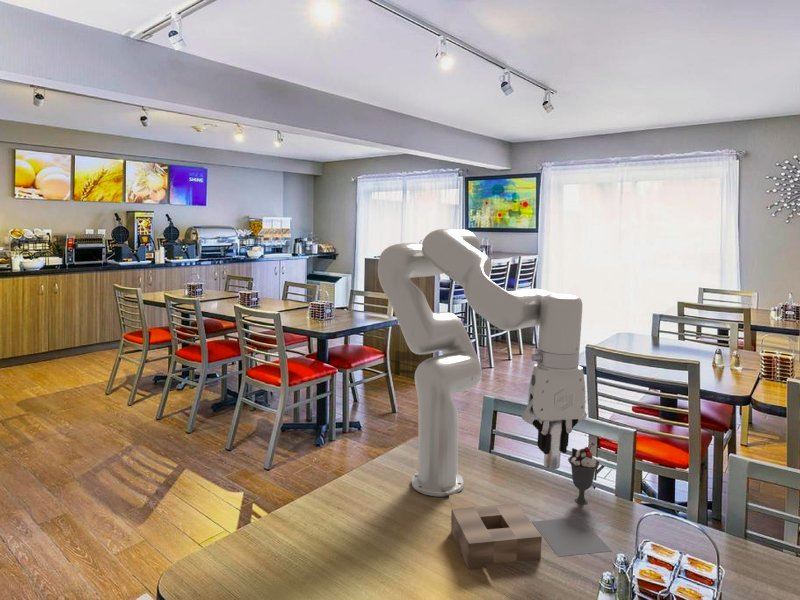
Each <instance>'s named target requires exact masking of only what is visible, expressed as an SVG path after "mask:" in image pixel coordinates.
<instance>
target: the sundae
mask: <svg viewBox="0 0 800 600" xmlns="http://www.w3.org/2000/svg"><path fill="white" fill-rule="evenodd" d="M593 446H595V443H593V442H591V444H589V445H588V446H584V447H583V448H581V449H576V448H574V447H573V448H571V455H570V457H568V459H567V461H568V463H569V464H570V468H571V477H572V478H571V479H572V483H573V485H574V486H575V488H577V489H578V491H579V492H578V497H577V498H575V499H574V502H575V503H576V504H578V505H581V506H586V505H588V504H589V501H588V500H587V499H586V497H585V491H588V490H589V489H590V488H592V484H593V482H594V477H595V472H596V469H598V468H599V467H600V461H599V460H597V459H595V457H594V456H593V452H591V447H593Z"/></svg>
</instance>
